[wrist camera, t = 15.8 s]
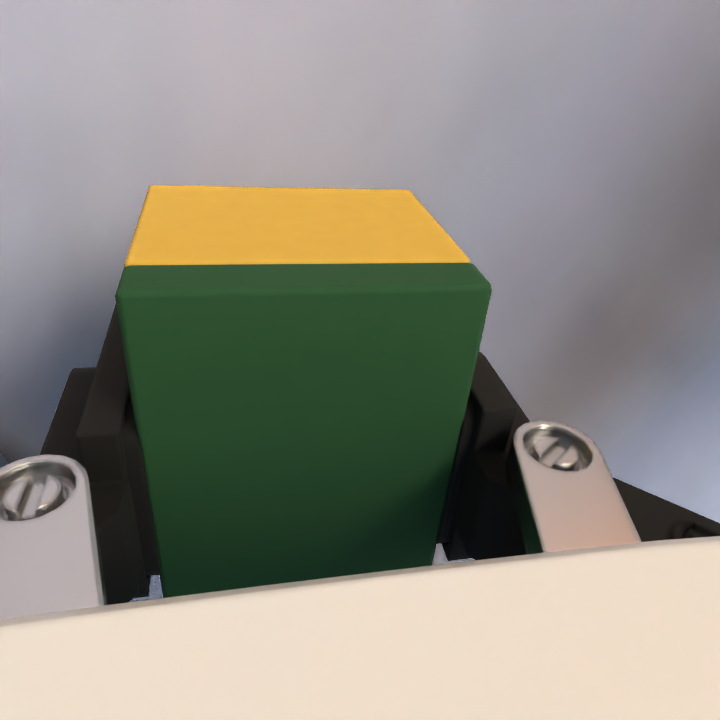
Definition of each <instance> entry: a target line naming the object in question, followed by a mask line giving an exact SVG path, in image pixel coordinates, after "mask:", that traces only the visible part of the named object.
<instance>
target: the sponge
mask: <svg viewBox="0 0 720 720" xmlns="http://www.w3.org/2000/svg"><path fill="white" fill-rule="evenodd" d="M490 296H491V284H490V283H489V282H488V281H487V280H486V278H485V277H484V276H483V275H482V274H481V273H480V271H479V270H478V269H477V268H476V267H475V266H474V265H473V264H471V263H470V260H469V258H468V257H467V256H466V255H465V253H464V252H463V251H462V250H461V249H460V248H459V247H458V245H457V244H456V243H455V242H454V241H453V240H452V239H451V237H450V236H449V235H448V234H447V233H446V232H445V230H444V229H443V228H442V227H441V226H440V225H439V224H438V222H437V221H436V220H435V219H434V218H433V217H432V215H431V214H430V213H429V212H428V211H427V210H426V209H425V207H424V206H423V205H422V204H421V203H420V202H419V200H418V199H417V198H416V197H415V196H414V195H413V194H412V192H411V191H409V190H391V189H337V188H284V187H230V186H177V185H152V186H149V189H148V192H147V195H146V198H145V201H144V205H143V208H142V211H141V214H140V217H139V220H138V223H137V227H136V230H135V233H134V236H133V239H132V242H131V245H130V249H129V252H128V255H127V258H126V261H125V264H124V269H123V272H122V275H121V279H120V282H119V285H118V288H117V291H116V294H115V299H116V305H117V311H118V318H119V324H120V330H121V336H122V342H123V349H124V355H125V361H126V367H127V374H128V380H129V386H130V392H131V399H132V405H133V411H134V417H135V424H136V430H137V434H138V437H139V441H140V443H141V449H142V456H143V462H144V468H145V474H146V481H147V487H148V493H149V500H150V506H151V512H152V519H153V525H154V531H155V537H156V544H157V550H158V556H159V563H160V569H161V574H160V580H161V586H162V592H163V598H168V597H176V596H184V595H192V594H200V593H208V592H216V591H224V590H232V589H240V588H248V587H256V586H264V585H272V584H281V583H289V582H297V581H306V580H314V579H322V578H331V577H339V576H347V575H356V574H364V573H372V572H381V571H389V570H398V569H406V568H415V567H423V566H431V565H432V562H433V558H434V553H435V549H436V544H437V543H436V542H437V538H438V533H439V528H440V524H441V519H442V515H443V510H444V505H445V501H446V496H447V492H448V487H449V482H450V478H451V473H452V468H453V464H454V459H455V455H456V450H457V445H458V441H459V436H460V432H461V427H462V422H463V419H464V415H465V411H466V406H467V402H468V397H469V392H470V388H471V383H472V379H473V374H474V369H475V365H476V360H477V356H478V351H479V346H480V342H481V337H482V333H483V328H484V323H485V319H486V314H487V310H488V305H489V300H490Z"/></svg>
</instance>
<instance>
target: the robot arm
mask: <svg viewBox="0 0 720 720" xmlns="http://www.w3.org/2000/svg"><path fill="white" fill-rule="evenodd" d="M436 543H441V544H442V546H443V549H444V551H445V554H446V557H447V559H448V561H451V560H459V559H468V558H473V559H475V560H474V561H466V562H457V563H448V564H440V565H431V566H423V567H415V568H406V569H398V570H389V571H381V572H372V573H364V574H356V575H347V576H339V577H331V578H322V579H314V580H306V581H297V582H289V583H281V584H272V585H264V586H256V587H248V588H240V589H232V590H224V591H216V592H208V593H200V594H192V595H184V596H176V597H168V598H160V599H152V600H144V601H136V602H130V601H131V600H132V599H133V598H138V597H147V596H149V588H150V579H151V575H159V574H161V569H160V563H159V556H158V550H157V544H156V537H155V531H154V525H153V519H152V512H151V506H150V500H149V493H148V487H147V481H146V474H145V468H144V462H143V456H142V449H141V443H140V441H139V437H138V434H137V430H136V424H135V417H134V411H133V405H132V399H131V392H130V386H129V380H128V374H127V367H126V361H125V355H124V349H123V342H122V336H121V330H120V324H119V318H118V311H117V305H115V309H114V312H113V315H112V318H111V322H110V325H109V328H108V331H107V335H106V338H105V341H104V344H103V348H102V351H101V354H100V358H99V361H98V364H97V367H92V368H74V369H72V371H71V372H70V374H69V377H68V380H67V382H66V385H65V388H64V390H63V393H62V396H61V399H60V401H59V404H58V407H57V409H56V412H55V415H54V418H53V420H52V423H51V426H50V428H49V431H48V434H47V437H46V439H45V442H44V445H43V448H42V450H41V453H40V455H38V456H30V457H27V458H24V459H20V460H17V461H14V462H12V463H10V464H8V465H6V466H4V467H1V468H0V720H720V524H719V523H717V522H715V521H713V520H711V519H708V518H706V517H704V516H701V515H699V514H697V513H694V512H692V511H690V510H687V509H685V508H683V507H680V506H678V505H676V504H673V503H671V502H669V501H666V500H664V499H662V498H660V497H657V496H655V495H653V494H650V493H648V492H646V491H643V490H641V489H639V488H636V487H634V486H632V485H629V484H627V483H625V482H622V481H620V480H618V479H616V478H613V477H612V475H611V473H610V471H609V469H608V466H607V464H606V462H605V460H604V458H603V455H602V453H601V451H600V450H599V448H598V447H597V445H596V444H595V442H594V441H592V440H591V439H590V438H589V437H588V436H587V435H585V434H584V433H582V432H580V431H579V430H577V429H575V428H573V427H570V426H568V425H565V424H562V423H558V422H553V421H532V422H530V421H529V420H528V418H527V417H526V415H525V414H524V412H523V411H522V410H521V408H520V407H519V405H518V404H517V402H516V401H515V399H514V398H513V396H512V395H511V394H510V392H509V391H508V389H507V388H506V386H505V385H504V383H503V382H502V380H501V379H500V378H499V376H498V375H497V373H496V372H495V370H494V369H493V367H492V366H491V365H490V363H489V362H488V360H487V359H486V357H485V356H484V355H483V354H482V353H481V352H478V356H477V360H476V365H475V369H474V374H473V379H472V383H471V388H470V392H469V397H468V402H467V406H466V411H465V415H464V419H463V422H462V427H461V432H460V436H459V441H458V445H457V450H456V455H455V459H454V464H453V468H452V473H451V478H450V482H449V487H448V492H447V496H446V501H445V505H444V510H443V515H442V519H441V524H440V528H439V533H438V538H437V542H436Z"/></svg>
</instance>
